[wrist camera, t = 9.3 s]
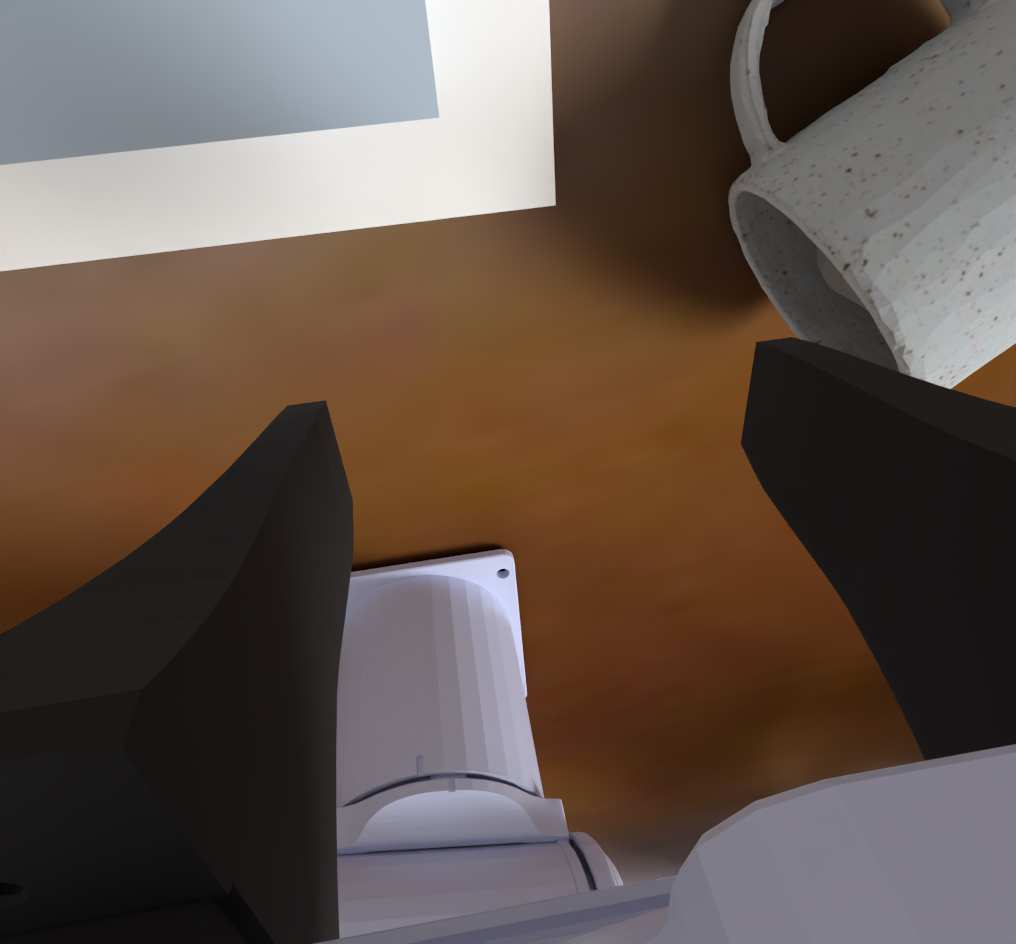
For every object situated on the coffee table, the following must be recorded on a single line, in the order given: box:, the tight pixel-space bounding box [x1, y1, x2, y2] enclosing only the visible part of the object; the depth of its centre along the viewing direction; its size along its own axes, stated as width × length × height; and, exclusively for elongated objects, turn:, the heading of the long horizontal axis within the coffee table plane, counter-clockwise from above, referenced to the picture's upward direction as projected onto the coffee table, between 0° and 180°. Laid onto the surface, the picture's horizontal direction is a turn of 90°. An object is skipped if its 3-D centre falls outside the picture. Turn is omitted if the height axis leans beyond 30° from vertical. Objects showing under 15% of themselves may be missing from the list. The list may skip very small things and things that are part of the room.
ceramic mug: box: [728, 0, 1016, 389], centre depth 17 cm, size 11×8×8 cm
